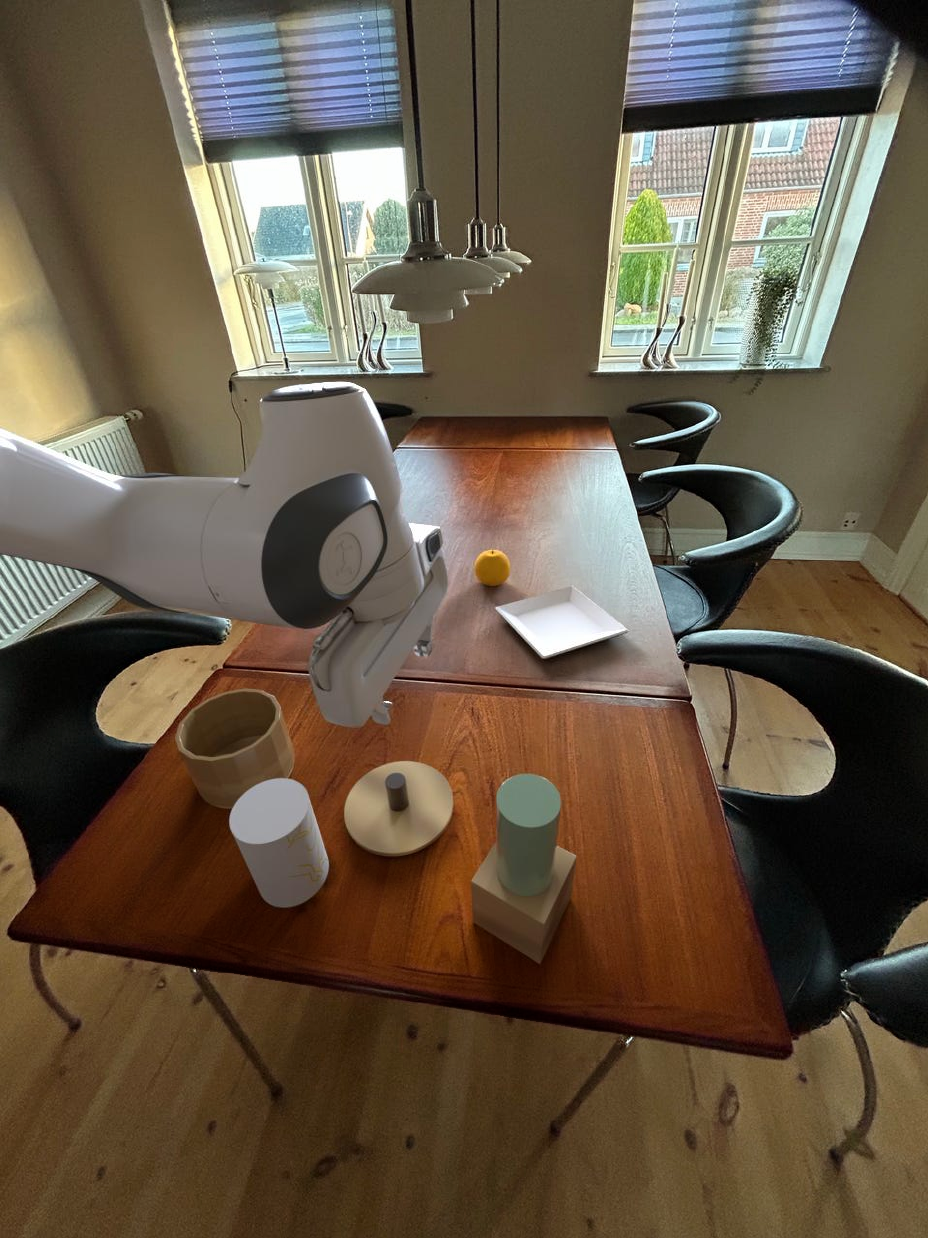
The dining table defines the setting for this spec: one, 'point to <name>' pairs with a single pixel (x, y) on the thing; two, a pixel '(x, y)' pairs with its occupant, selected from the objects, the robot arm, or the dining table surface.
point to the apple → (492, 568)
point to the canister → (526, 833)
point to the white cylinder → (280, 841)
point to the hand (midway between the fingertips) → (406, 683)
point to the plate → (560, 621)
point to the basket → (235, 744)
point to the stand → (522, 906)
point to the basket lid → (398, 808)
